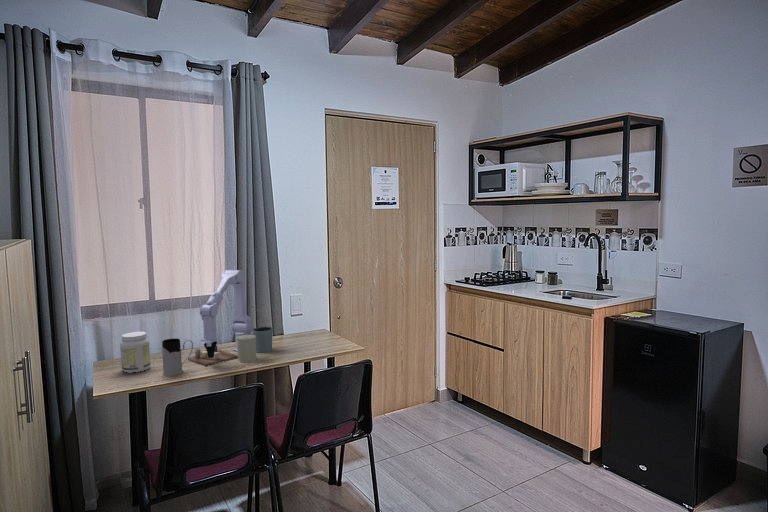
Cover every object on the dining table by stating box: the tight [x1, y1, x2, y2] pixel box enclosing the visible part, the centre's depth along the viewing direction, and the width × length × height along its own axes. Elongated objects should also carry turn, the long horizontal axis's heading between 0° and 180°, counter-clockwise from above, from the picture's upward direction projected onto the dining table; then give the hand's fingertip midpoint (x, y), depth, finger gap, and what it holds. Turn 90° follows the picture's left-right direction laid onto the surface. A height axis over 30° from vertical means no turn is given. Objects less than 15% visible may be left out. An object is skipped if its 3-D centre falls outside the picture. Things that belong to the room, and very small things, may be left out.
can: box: [237, 335, 258, 363], centre depth 242 cm, size 9×9×12 cm
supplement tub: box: [119, 331, 152, 374], centre depth 230 cm, size 12×12×17 cm
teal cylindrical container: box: [252, 326, 274, 354], centre depth 257 cm, size 10×10×12 cm
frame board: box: [187, 345, 238, 367], centre depth 245 cm, size 18×17×5 cm
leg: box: [200, 350, 219, 360], centre depth 242 cm, size 10×2×3 cm, turn 70°
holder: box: [161, 338, 194, 377], centre depth 226 cm, size 9×14×15 cm, turn 134°
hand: (211, 357), depth 234 cm, fingers closed
